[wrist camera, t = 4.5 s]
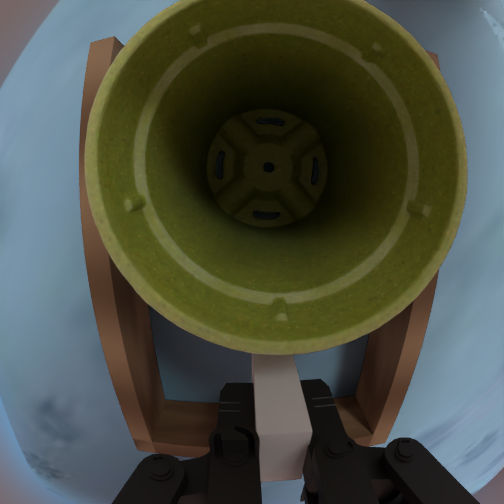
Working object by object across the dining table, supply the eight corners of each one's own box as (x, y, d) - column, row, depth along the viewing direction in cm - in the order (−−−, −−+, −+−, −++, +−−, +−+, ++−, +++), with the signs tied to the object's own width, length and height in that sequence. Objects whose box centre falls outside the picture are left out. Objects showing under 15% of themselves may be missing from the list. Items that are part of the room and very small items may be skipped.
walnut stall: (123, 69, 12) (90, 42, 9) (399, 76, 13) (437, 54, 9) (151, 409, 18) (137, 450, 14) (367, 404, 18) (385, 442, 14)
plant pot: (173, 259, 15) (102, 346, 7) (175, 81, 13) (106, -8, 4) (349, 261, 15) (441, 340, 7) (354, 88, 13) (449, 19, 5)
